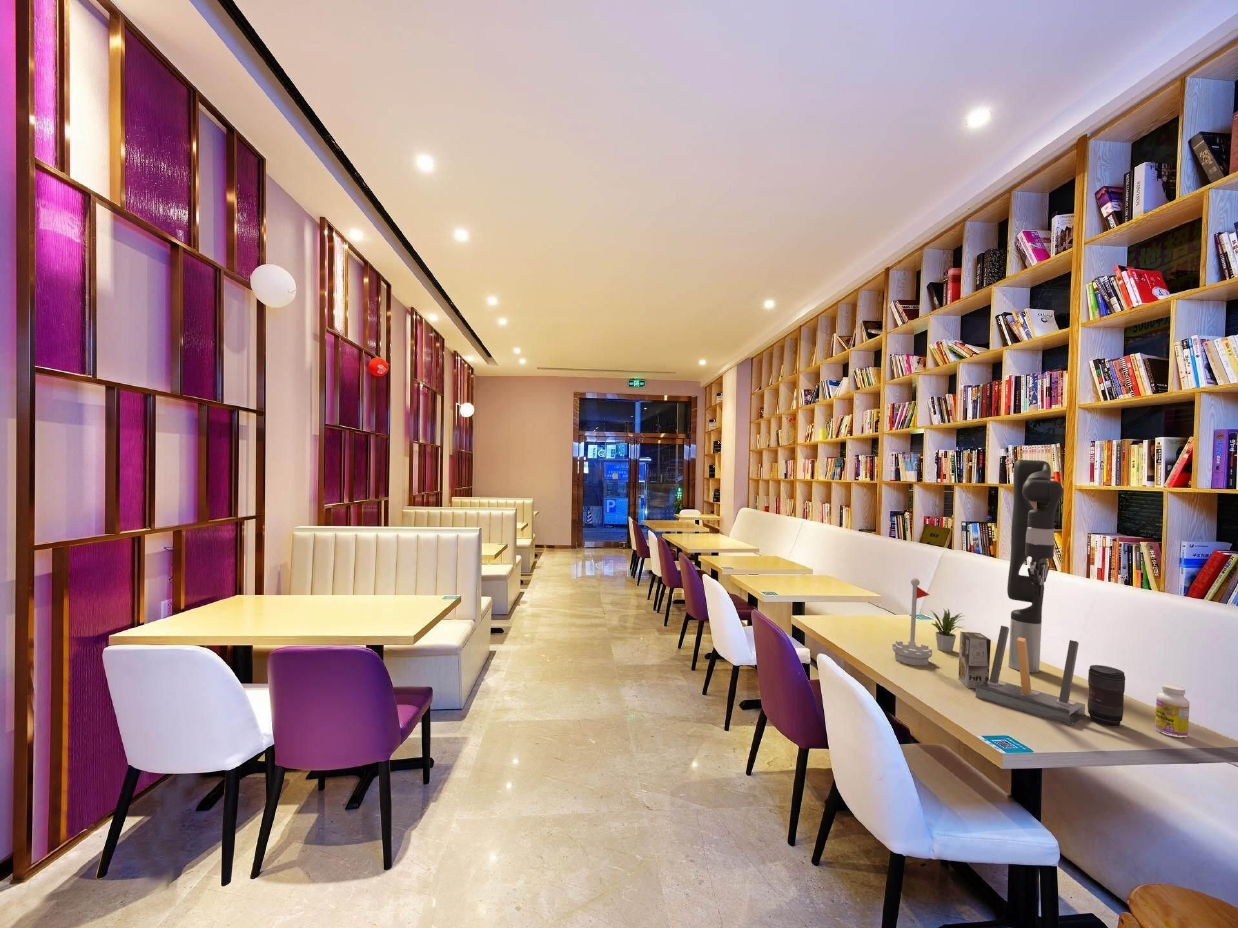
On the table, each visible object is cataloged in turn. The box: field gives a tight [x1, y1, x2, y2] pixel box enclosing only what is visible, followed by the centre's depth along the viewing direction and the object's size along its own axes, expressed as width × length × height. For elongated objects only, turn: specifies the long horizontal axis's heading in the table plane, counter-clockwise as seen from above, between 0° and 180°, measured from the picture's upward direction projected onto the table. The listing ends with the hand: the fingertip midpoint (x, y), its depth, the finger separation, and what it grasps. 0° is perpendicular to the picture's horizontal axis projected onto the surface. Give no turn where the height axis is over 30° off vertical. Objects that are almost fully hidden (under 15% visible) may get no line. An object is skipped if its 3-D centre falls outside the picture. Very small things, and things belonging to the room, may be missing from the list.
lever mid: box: [1017, 637, 1033, 697], centre depth 177 cm, size 2×3×19 cm, turn 38°
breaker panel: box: [975, 680, 1086, 726], centre depth 181 cm, size 14×24×4 cm, turn 39°
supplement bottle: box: [1154, 683, 1190, 737], centre depth 165 cm, size 7×7×13 cm
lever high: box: [1057, 639, 1079, 708], centre depth 175 cm, size 2×3×19 cm, turn 40°
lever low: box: [987, 625, 1010, 688], centre depth 189 cm, size 2×3×19 cm, turn 40°
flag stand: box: [891, 577, 933, 666], centre depth 221 cm, size 13×13×30 cm
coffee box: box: [958, 631, 992, 690], centre depth 197 cm, size 9×6×16 cm
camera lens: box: [1087, 664, 1126, 728], centre depth 171 cm, size 8×8×15 cm
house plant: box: [929, 608, 964, 653], centre depth 236 cm, size 14×14×16 cm
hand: (1037, 595), depth 194 cm, fingers closed
